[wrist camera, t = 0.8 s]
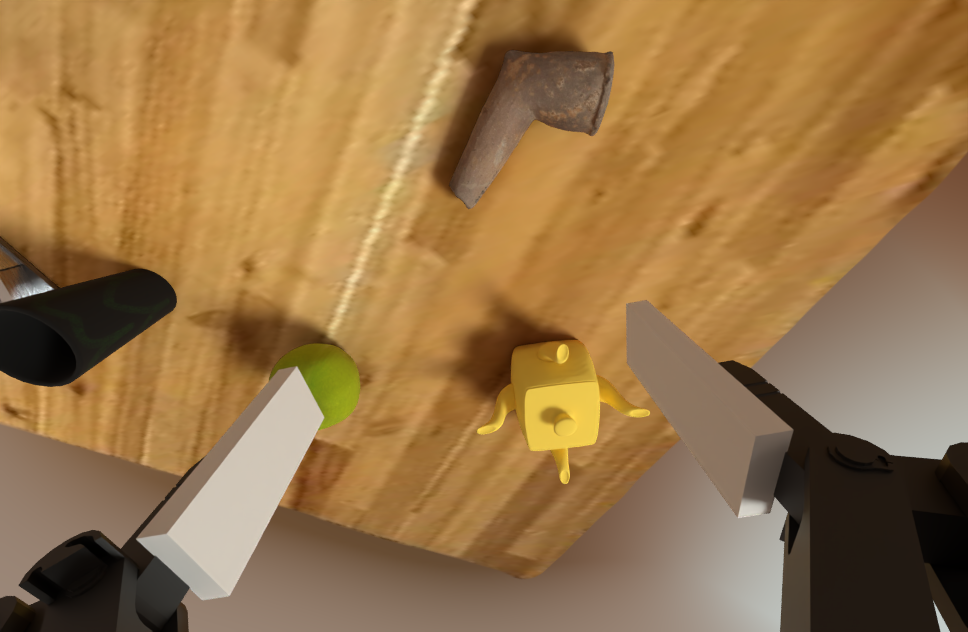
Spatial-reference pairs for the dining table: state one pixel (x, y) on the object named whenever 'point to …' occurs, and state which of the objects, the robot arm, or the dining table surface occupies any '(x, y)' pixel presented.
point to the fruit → (326, 379)
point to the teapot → (556, 399)
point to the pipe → (532, 110)
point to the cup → (78, 325)
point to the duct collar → (19, 276)
